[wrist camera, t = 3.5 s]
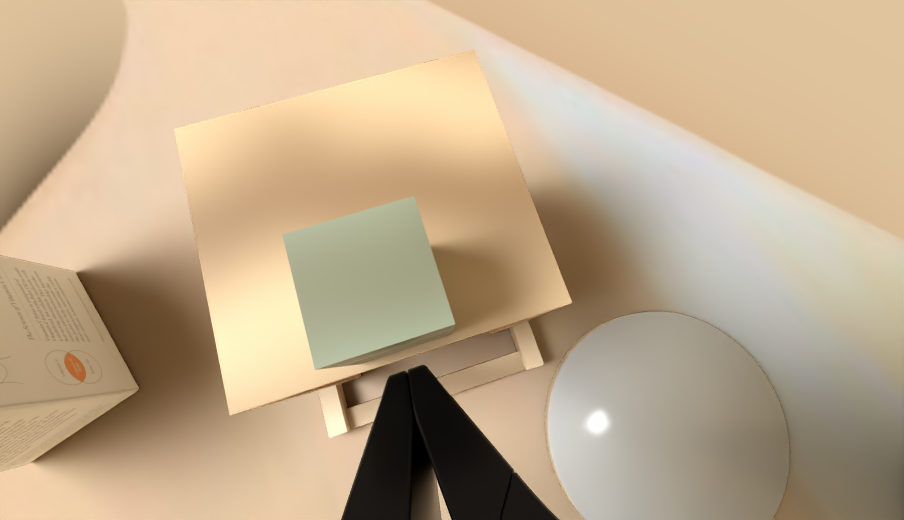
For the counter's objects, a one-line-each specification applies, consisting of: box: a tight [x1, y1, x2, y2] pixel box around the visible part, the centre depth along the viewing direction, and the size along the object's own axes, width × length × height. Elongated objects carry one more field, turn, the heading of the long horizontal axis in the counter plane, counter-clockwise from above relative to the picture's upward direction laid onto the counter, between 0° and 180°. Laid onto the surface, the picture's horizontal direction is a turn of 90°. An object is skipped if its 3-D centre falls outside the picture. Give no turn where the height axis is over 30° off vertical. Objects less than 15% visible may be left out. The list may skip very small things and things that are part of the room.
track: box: [246, 59, 544, 438], centre depth 22 cm, size 18×11×2 cm, turn 18°
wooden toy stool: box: [174, 50, 572, 415], centre depth 15 cm, size 8×9×16 cm
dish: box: [545, 311, 790, 520], centre depth 21 cm, size 12×12×1 cm
